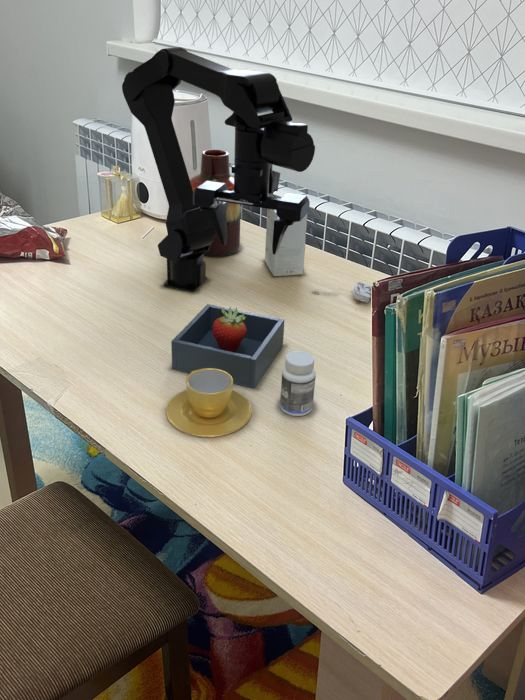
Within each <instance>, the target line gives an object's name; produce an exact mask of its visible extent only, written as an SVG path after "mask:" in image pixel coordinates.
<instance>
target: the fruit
mask: <svg viewBox="0 0 525 700" xmlns="http://www.w3.org/2000/svg"><path fill="white" fill-rule="evenodd" d="M228 308H229V310H228V313H226V311H225V310H224V309H223V308H222V309H221V310H222V313H223V314H224V316H223V317H220V318H218V319H216V320H215V322H214V324H213V335H214V337H215V339H216V341H217V343H218V345H219V347H220V348H221V350H226V351H230V352H235V351H236V350H237V349H238V347H239V345H240V343H241V341H242V340H243V338H244V337H245V335H246V332H247V329H246V326H245V324H244V323H243V320H244V319H245V318H246V317H244V314H243V315H240V316H237V317H236V315H237V313H238V310H239V309H238V308H237V307H235V311H234V313H233V315H232V310H231V309H232V307H231V306H229V307H228ZM228 314H229V315H228Z"/></svg>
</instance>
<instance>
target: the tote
mask: <svg viewBox="0 0 525 700" xmlns="http://www.w3.org/2000/svg"><path fill="white" fill-rule="evenodd" d="M222 308H223V309H224V310H225V311H226V313H228V310H229V308H230V307H225V306H220V305H215V304H209V303H207V304H206V305H205V306H204V307H203V308H202V309H201V310H200V311H199V312H198V313H197V314H196V315H195V316H194V317H193V318H192V319H191V320H190V321H189V322H188V323H187V324H186V325H185V326H184V327H183V328H182V329H181V331H179V333H177V335H176V336H175V337H174V338H173V339H172V340H171V342H170V344H171V346H170V348H171V369H172V370H173V371H179V372H184V373H186V374H187V373H188V374H190V373H191V371H194V370H200V369H206V368H213V369H219V370H222V371H225V372H227V373H228V374H230V375H231V377H232V378H233V385H238V386H243V387H246V388H251V389H256V387H257V386H258V384H259V382H260V381H261V379H262V378H263V376H264V375H265V374H266V372H267V371H268V369H269V368H270V366H271V365H272V363H273V362H274V360H275V359H276V357H277V356H278V354H279V353H280V351H281V350H282V348H283V346H284V336H285V335H284V334H285V319H283V318H279V317H274V316H268V315H264V314H258V313H255V312H248V311H244V310H239V309H237V310H238V313H237V315H236V317H237V316H240V315H243V314H244V317H246V318H245V319H244V320H243V323H244V324H245V326H246V329H247V332H246V335H245V337H244V338H243V340H242V341H241V343H240V345H239V347H238V349H237V350H236V351H235V352H230V351H226V350H221V348H220V347H219V345H218V343H217V341H216V339H215V337H214V335H213V324H214V322H215V320H216V319H218V318H220V317H223V316H224V314H223V313H222V310H221V309H222ZM235 309H236V308H235ZM235 309H234V308H231V310H232V315H233V313H234V311H235ZM228 315H229V314H228Z"/></svg>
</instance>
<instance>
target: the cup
mask: <svg viewBox="0 0 525 700" xmlns="http://www.w3.org/2000/svg"><path fill="white" fill-rule="evenodd" d="M185 387H186V389H185V390H183V391H181V392H179V393H176V395H174V396H173V397H172V398H171V399H170V400H169V402H168V403H167V405H166V409H165V414H166V418H167V420H168V421H169V423H170V424H171V425H172V426H173V427H174V428H176V429H177V430H179V431H181V432H184V433H186V434H189V435H193V436H199V437H218V436H219V437H220V436H224V435H228V434H231V433H234V432H236V431H238V430H240V429H241V428H243V427H244V426H245V425H246V424H247V423H248V422H249V421H250V419H251V416H252V414H253V413H252V412H253V410H252V406H251V403H250V402H249V400H248V399H247V398H246V397H245V396H244V395H243V394H241V393H239V392H238V391H236V390H233V387H234V383H233V378H232V377H231V375H230V374H228V373H227V372H225V371H222V370H219V369H213V368H206V369H200V370H194V371H191V373H188V375H187V377H186V379H185Z"/></svg>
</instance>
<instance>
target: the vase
mask: <svg viewBox="0 0 525 700" xmlns="http://www.w3.org/2000/svg"><path fill="white" fill-rule="evenodd" d="M230 171H231V169H230V155H229V152H228V151H226V150H224V149H214V148H213V149H205V150H203V151H201V160H200V171H199V172H200V173H198V174H196V175H194V176H192V177H190V178H189V179H190V182H191V186H192V189H193V192H194V190H195V189H196V188H197V187H199V186H200V185H202V184H203V183H205V182H206V181H213V182H219V183H225V184H226V185H227V190H228V191H233V190H234V175H232V174H231V172H230ZM241 209H242V205H241V204H234V203H228V206H227V211H226V217H227V243H226V245H225V246H223V245H222V244H221V241H220V239H219V237H218V235H217V233H216V236H215V237H214V240H213V242H212V244H211V247H210V250H209V251H206V252H203V257H212V258H222V257H227V256H231V255H234V254H236V253H237V252H238V251H239V250H240V246H241V213H242V212H241ZM215 232H216V231H215Z"/></svg>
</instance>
